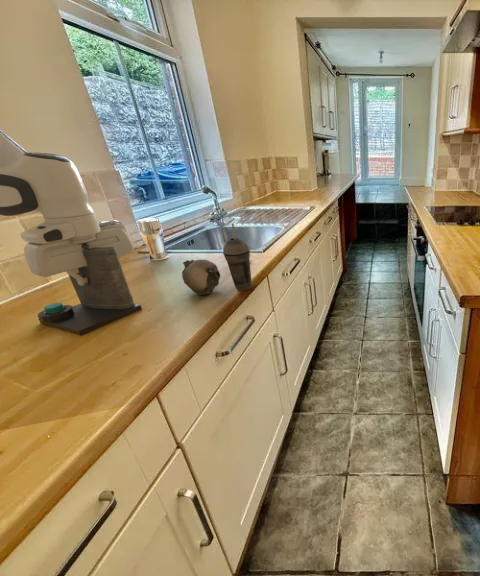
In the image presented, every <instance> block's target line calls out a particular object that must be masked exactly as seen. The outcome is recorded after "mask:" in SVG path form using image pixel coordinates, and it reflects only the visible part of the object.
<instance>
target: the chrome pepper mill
mask: <svg viewBox="0 0 480 576" xmlns="http://www.w3.org/2000/svg"><path fill="white" fill-rule="evenodd" d="M137 225H138V230H139V233H140V236H141V239H142V240H143V242H144V244H145V246H146V247H147V250H148V253H149V260H150V261H154V262H155V261H163V260H167V259H169V257H170V255H169V253H168V252H167V250H166V245H165V237H164V235H165V234H164V230H163V228H162V224H161V222H160V219H159V218H157V217H151V218H149V217H148V218H142V219H138V220H137Z"/></svg>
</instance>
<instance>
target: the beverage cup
mask: <svg viewBox="0 0 480 576" xmlns="http://www.w3.org/2000/svg"><path fill="white" fill-rule="evenodd" d="M231 228H232V235H233V237H232V238H229V239H228V240H226V241H225V243H224V245H223V249H222V251H223V256H224V259H225V261H226V263H227V266H228V269H229V272H230V275H231V279H232V282H233V285H234V287H235V290H236V289H237V290H236V291H238V290H239V292H244V291H248V290H250V289H252V273H251V261H250V257H251V250H250V247H249V245H248V244H247V242H246V241H245V240H243V239H242V238H238V237H236V230H235V225H234V223H231Z"/></svg>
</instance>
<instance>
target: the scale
mask: <svg viewBox="0 0 480 576" xmlns="http://www.w3.org/2000/svg"><path fill="white" fill-rule="evenodd" d="M134 304H135V306H133V307H131V308H127V309H97V308H88V307H83V306H82V305H81V303H78V304H76V305H71V304H62V305H63V307H64V309H65V310H63V311H61V312H58V313H55V314H47V313H46V311H45V309H43V310H42V311H40V312H39V313H37V317H38V321H39V323H40V324H41V325H43V326H47V327H50V328H54V329H57V330H60V331H64V332H67V333H70V334H73V335H76V336H80V337H82V336H84V335H86V334H89V333H91V332H93V331H96V330H98V329H100V328H102V327H105V326H107V325H110V324H112V323H114V322H116V321H119V320H121V319H124V318H126V317H128V316H130V315H132V314H135V313H137V312H139V311H141V310H143V308H142V305H141V304H138V303H134Z"/></svg>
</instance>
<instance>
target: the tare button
mask: <svg viewBox="0 0 480 576" xmlns="http://www.w3.org/2000/svg"><path fill="white" fill-rule="evenodd" d="M63 305H64V304H63V303H62V302H55V303H54V302H53V303H50V304H47V305H45V306H44V307H43V310H45V311H46V313H47V314H55V313H58V312H61V311H63V310H65V309H64V307H63Z"/></svg>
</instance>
